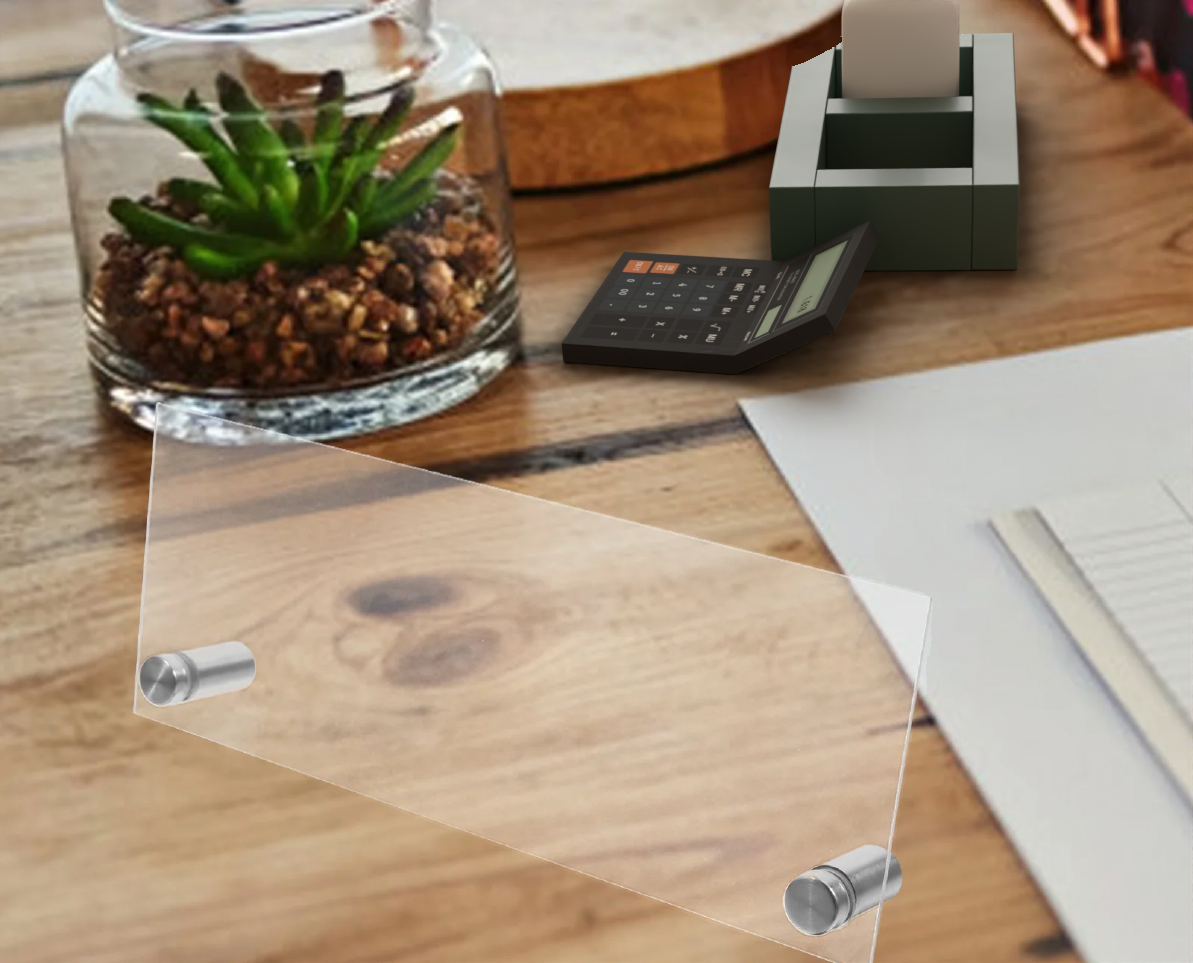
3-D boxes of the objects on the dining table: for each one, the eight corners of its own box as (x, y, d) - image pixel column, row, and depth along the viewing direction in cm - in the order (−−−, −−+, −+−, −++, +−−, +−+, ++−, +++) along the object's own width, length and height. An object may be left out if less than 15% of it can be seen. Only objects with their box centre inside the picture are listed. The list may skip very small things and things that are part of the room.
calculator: (624, 269, 105) (620, 207, 104) (880, 284, 102) (879, 221, 100) (563, 361, 98) (557, 296, 96) (836, 381, 95) (835, 314, 93)
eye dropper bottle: (875, 126, 118) (873, -113, 112) (972, 145, 115) (977, -100, 109) (828, 155, 115) (824, -89, 109) (927, 175, 112) (928, -74, 106)
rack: (1011, 108, 119) (1013, 32, 117) (1017, 270, 102) (1019, 184, 100) (799, 112, 120) (797, 36, 118) (771, 271, 104) (768, 187, 102)
